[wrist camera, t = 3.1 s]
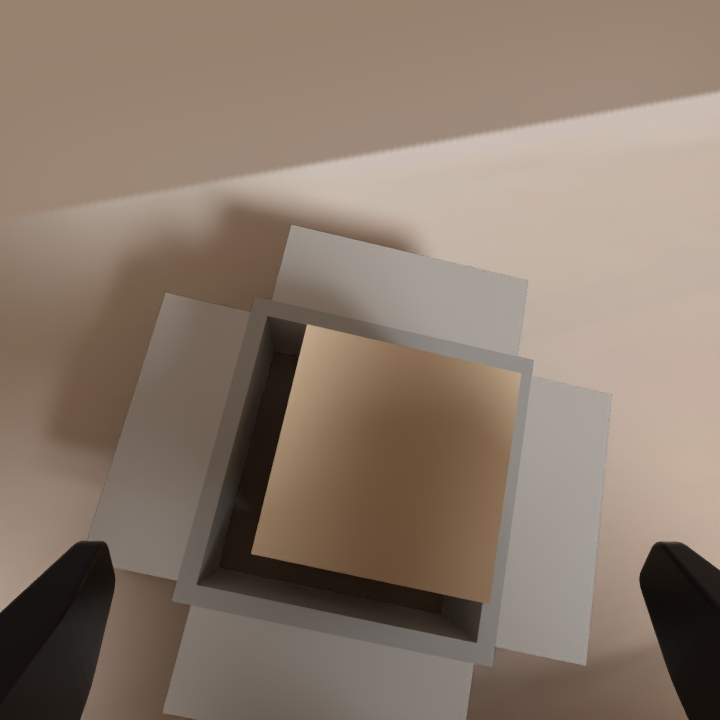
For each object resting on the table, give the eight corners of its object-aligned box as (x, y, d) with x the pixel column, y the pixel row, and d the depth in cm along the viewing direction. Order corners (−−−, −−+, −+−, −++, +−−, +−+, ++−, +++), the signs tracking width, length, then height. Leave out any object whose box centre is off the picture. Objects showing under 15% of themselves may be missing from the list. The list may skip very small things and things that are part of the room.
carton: (564, 337, 22) (620, 302, 18) (516, 732, 18) (573, 794, 14) (214, 256, 21) (194, 201, 17) (97, 648, 18) (40, 688, 14)
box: (428, 428, 20) (521, 373, 12) (405, 558, 19) (489, 603, 11) (305, 400, 20) (307, 324, 12) (274, 530, 19) (250, 553, 10)
